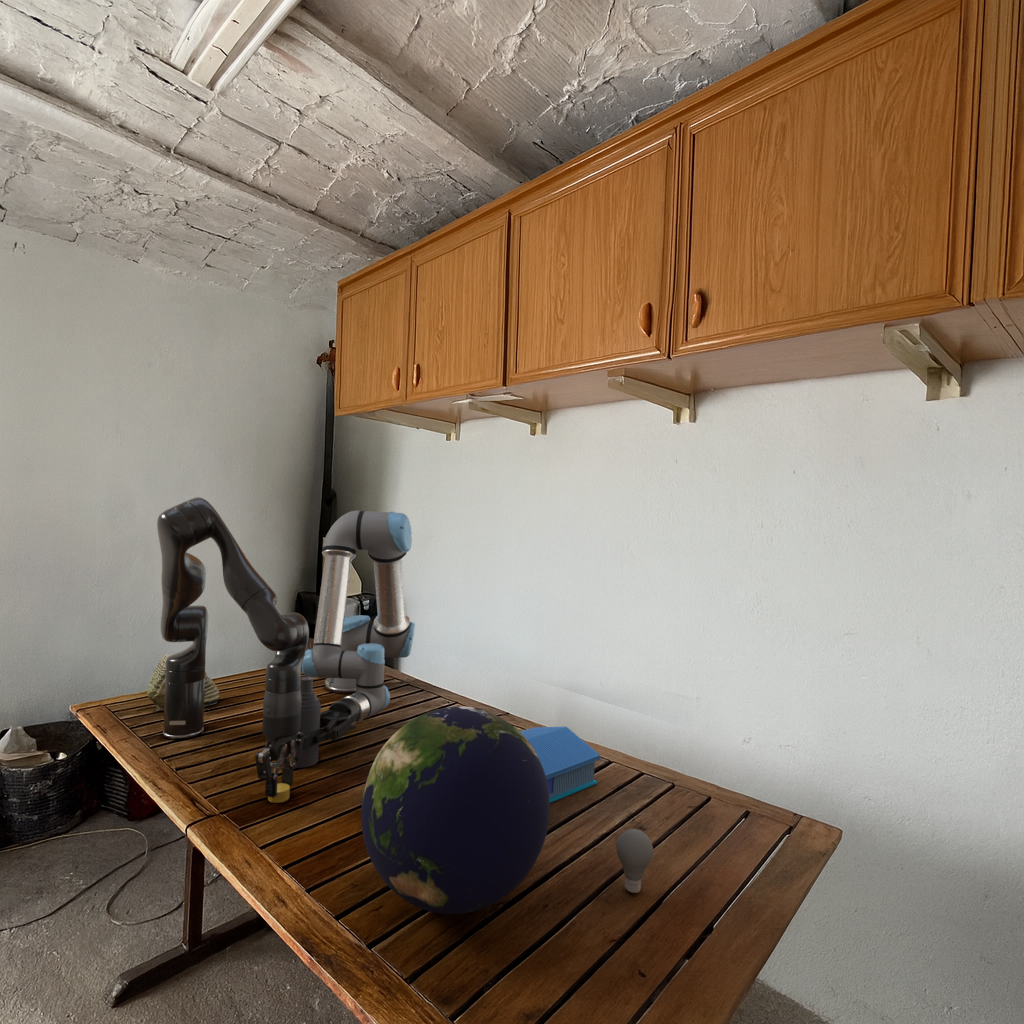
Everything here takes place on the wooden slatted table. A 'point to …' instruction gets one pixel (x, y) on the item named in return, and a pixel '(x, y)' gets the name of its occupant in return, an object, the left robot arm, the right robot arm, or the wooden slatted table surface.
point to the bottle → (309, 721)
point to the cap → (281, 793)
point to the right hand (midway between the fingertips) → (289, 740)
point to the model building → (563, 759)
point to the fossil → (158, 687)
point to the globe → (455, 810)
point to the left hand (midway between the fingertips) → (279, 790)
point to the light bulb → (634, 857)
